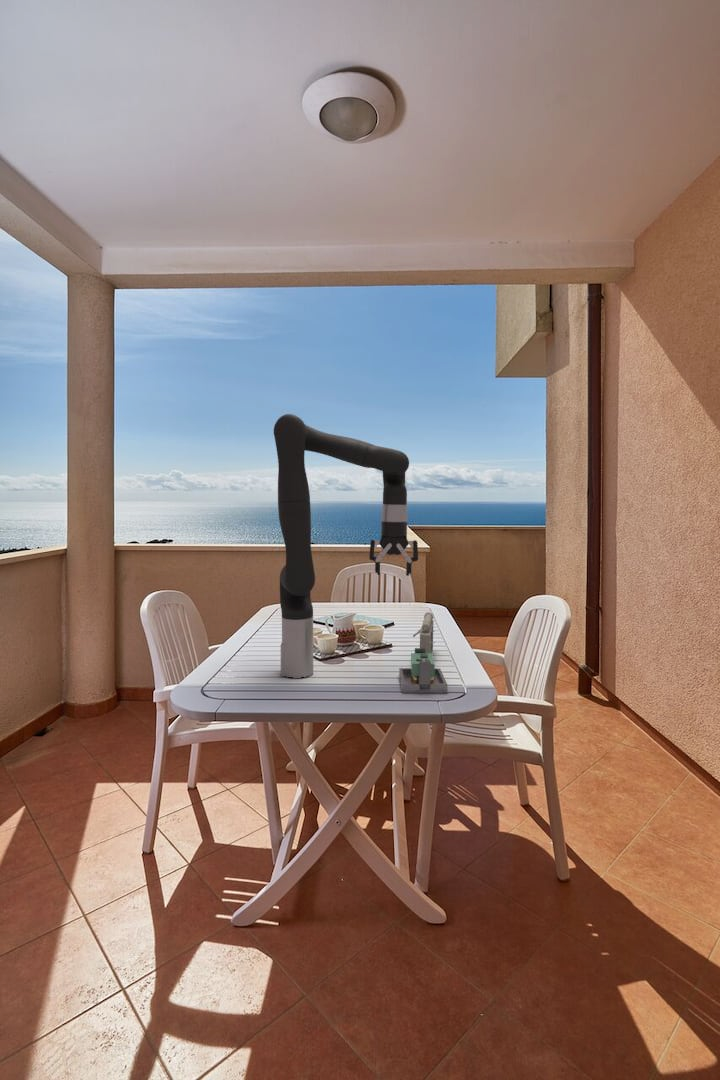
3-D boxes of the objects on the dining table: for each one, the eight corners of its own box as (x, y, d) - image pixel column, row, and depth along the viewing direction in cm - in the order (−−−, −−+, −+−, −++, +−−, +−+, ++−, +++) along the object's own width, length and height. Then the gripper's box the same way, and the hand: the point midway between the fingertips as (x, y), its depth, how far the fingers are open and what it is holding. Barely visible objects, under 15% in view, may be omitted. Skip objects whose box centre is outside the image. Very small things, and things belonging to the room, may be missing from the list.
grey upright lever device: (433, 625, 152) (437, 608, 177) (412, 623, 153) (419, 607, 178) (432, 670, 153) (436, 647, 178) (411, 668, 154) (418, 645, 179)
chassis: (402, 693, 134) (402, 662, 134) (399, 676, 147) (399, 648, 147) (447, 693, 134) (447, 662, 134) (439, 676, 147) (440, 648, 146)
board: (412, 676, 136) (412, 660, 136) (411, 664, 145) (411, 650, 145) (434, 676, 135) (434, 661, 135) (431, 665, 145) (432, 650, 145)
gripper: (370, 520, 144) (368, 576, 145) (419, 521, 143) (418, 577, 145) (370, 519, 151) (369, 572, 152) (417, 520, 151) (416, 573, 152)
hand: (393, 575), depth 149 cm, fingers open, 8 cm apart
